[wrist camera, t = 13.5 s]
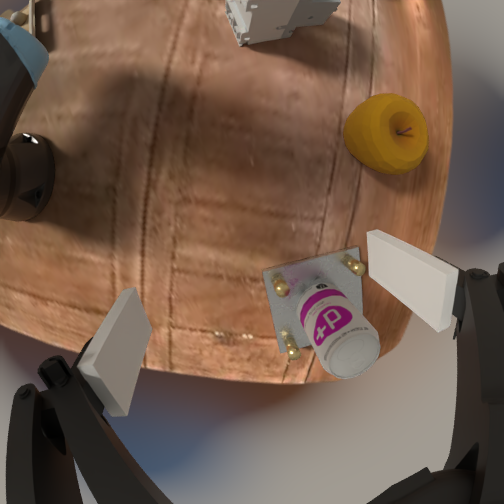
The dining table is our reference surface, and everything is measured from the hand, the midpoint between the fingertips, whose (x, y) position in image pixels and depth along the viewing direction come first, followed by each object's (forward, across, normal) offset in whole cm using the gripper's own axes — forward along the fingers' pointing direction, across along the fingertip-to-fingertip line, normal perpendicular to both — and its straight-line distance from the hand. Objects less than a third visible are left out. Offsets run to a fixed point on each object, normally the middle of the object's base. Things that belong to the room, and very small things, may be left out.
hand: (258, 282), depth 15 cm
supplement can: (+25, +10, -18) cm, 33 cm away
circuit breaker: (+27, +13, +29) cm, 42 cm away
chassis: (+26, +11, -18) cm, 33 cm away
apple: (+26, +22, +7) cm, 35 cm away
